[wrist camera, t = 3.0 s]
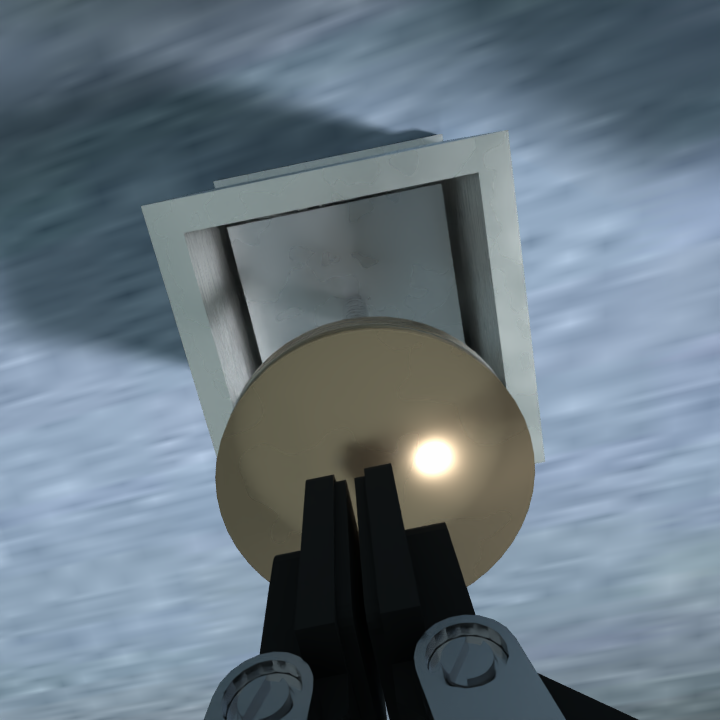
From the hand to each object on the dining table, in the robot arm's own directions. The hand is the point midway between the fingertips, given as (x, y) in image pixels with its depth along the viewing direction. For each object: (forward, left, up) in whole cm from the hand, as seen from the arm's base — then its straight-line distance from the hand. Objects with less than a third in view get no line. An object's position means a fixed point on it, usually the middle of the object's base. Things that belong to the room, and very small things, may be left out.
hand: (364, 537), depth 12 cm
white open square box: (0, 0, -30) cm, 30 cm away
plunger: (0, 0, -19) cm, 19 cm away
